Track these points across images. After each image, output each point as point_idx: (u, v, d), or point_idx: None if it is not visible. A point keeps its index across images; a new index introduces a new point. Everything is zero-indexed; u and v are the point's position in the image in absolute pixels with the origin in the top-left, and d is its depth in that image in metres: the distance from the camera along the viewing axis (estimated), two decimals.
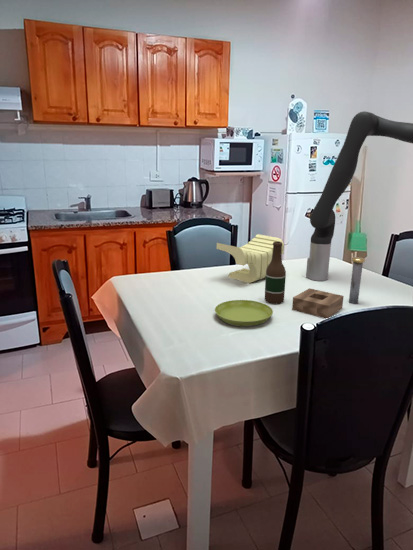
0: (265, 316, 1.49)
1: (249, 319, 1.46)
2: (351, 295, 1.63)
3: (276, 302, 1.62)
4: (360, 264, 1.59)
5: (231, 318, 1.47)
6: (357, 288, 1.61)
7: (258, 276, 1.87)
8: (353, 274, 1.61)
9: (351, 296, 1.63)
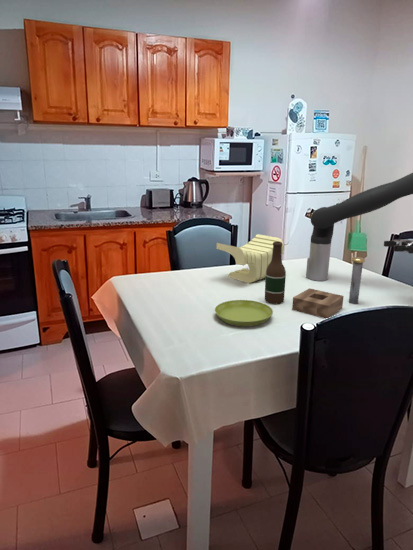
0: (265, 316, 1.49)
1: (249, 319, 1.46)
2: (351, 295, 1.63)
3: (276, 302, 1.62)
4: (360, 264, 1.59)
5: (231, 318, 1.47)
6: (357, 288, 1.61)
7: (258, 276, 1.87)
8: (353, 274, 1.61)
9: (351, 296, 1.63)
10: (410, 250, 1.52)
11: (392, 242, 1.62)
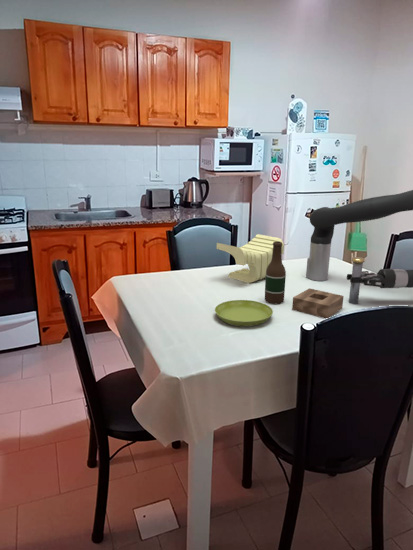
0: (265, 316, 1.49)
1: (249, 319, 1.46)
2: (351, 295, 1.63)
3: (276, 302, 1.62)
4: (360, 264, 1.59)
5: (231, 318, 1.47)
6: (357, 288, 1.61)
7: (258, 276, 1.87)
8: (353, 274, 1.61)
9: (351, 296, 1.63)
10: (365, 282, 1.58)
11: None
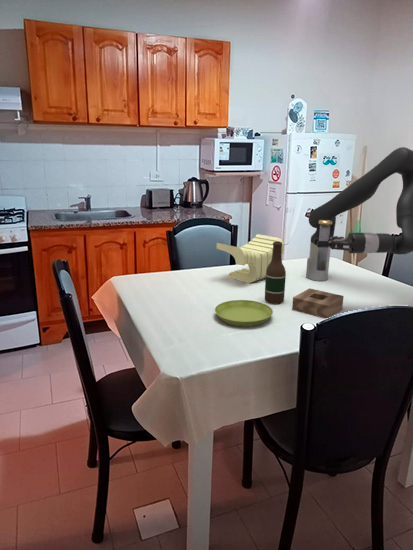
0: (265, 316, 1.49)
1: (249, 319, 1.46)
2: (318, 261, 1.51)
3: (276, 302, 1.62)
4: (327, 226, 1.47)
5: (231, 318, 1.47)
6: (324, 253, 1.50)
7: (258, 276, 1.87)
8: (320, 238, 1.49)
9: (318, 262, 1.51)
10: (332, 246, 1.46)
11: None
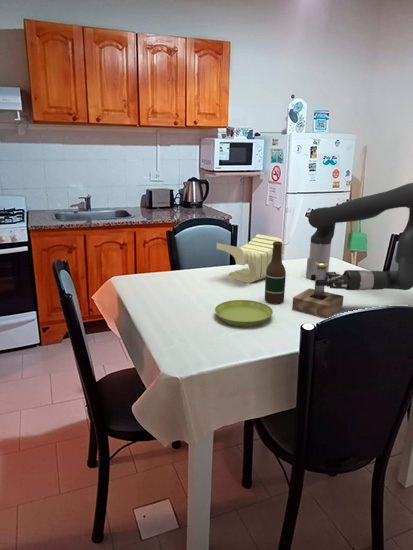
0: (265, 316, 1.49)
1: (249, 319, 1.46)
2: None
3: (276, 302, 1.62)
4: (323, 269, 1.52)
5: (231, 318, 1.47)
6: (321, 294, 1.54)
7: (258, 276, 1.87)
8: None
9: None
10: (331, 285, 1.49)
11: None
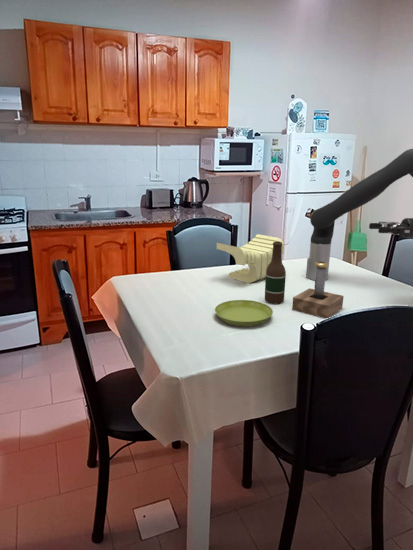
0: (265, 316, 1.49)
1: (249, 319, 1.46)
2: None
3: (276, 302, 1.62)
4: (323, 269, 1.51)
5: (231, 318, 1.47)
6: (321, 294, 1.54)
7: (258, 276, 1.87)
8: (316, 280, 1.53)
9: None
10: (395, 231, 1.50)
11: (378, 224, 1.60)
